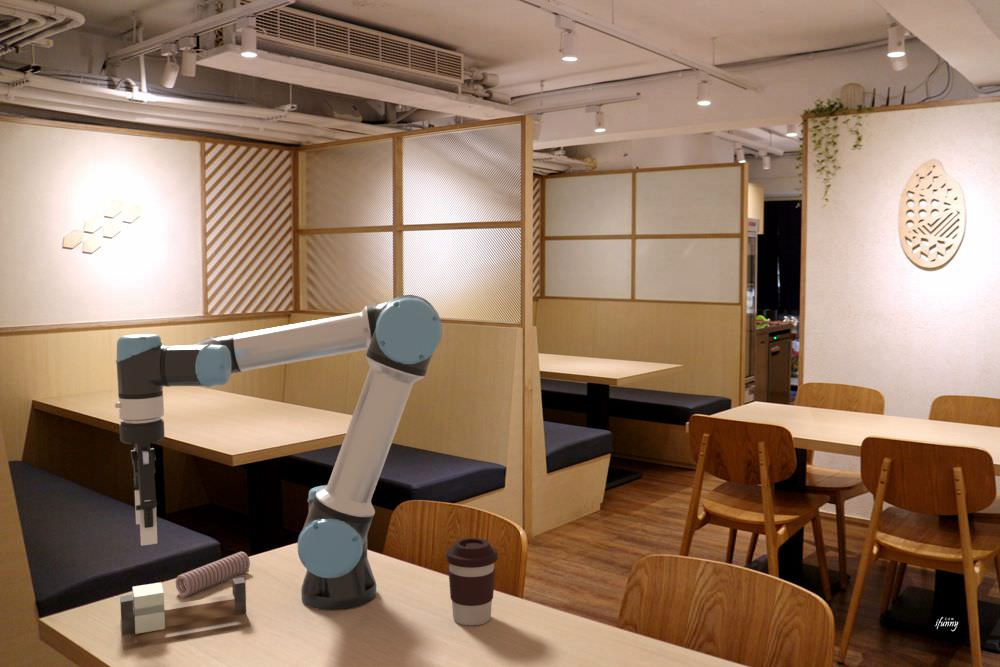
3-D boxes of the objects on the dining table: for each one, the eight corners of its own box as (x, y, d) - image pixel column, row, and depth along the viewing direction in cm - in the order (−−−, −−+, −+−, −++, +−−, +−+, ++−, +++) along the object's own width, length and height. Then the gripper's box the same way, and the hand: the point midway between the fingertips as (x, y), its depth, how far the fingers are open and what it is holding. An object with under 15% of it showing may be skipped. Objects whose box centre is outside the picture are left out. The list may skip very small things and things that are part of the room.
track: (239, 603, 173) (239, 569, 173) (250, 626, 163) (249, 590, 162) (120, 623, 164) (119, 588, 163) (123, 649, 153) (122, 611, 152)
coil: (187, 579, 175) (254, 553, 191) (172, 573, 177) (239, 548, 193) (186, 601, 176) (252, 573, 191) (171, 594, 178) (237, 567, 193)
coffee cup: (508, 618, 166) (508, 542, 165) (471, 634, 159) (471, 555, 158) (471, 604, 173) (471, 531, 172) (435, 619, 166) (435, 543, 165)
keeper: (162, 617, 164) (161, 582, 163) (164, 628, 159) (163, 592, 158) (133, 622, 162) (132, 586, 161) (135, 634, 157) (134, 597, 156)
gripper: (116, 410, 166) (120, 517, 168) (122, 433, 144) (127, 557, 146) (157, 407, 170) (162, 512, 172) (170, 429, 147) (175, 550, 149)
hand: (146, 533), depth 159 cm, fingers open, 13 cm apart
